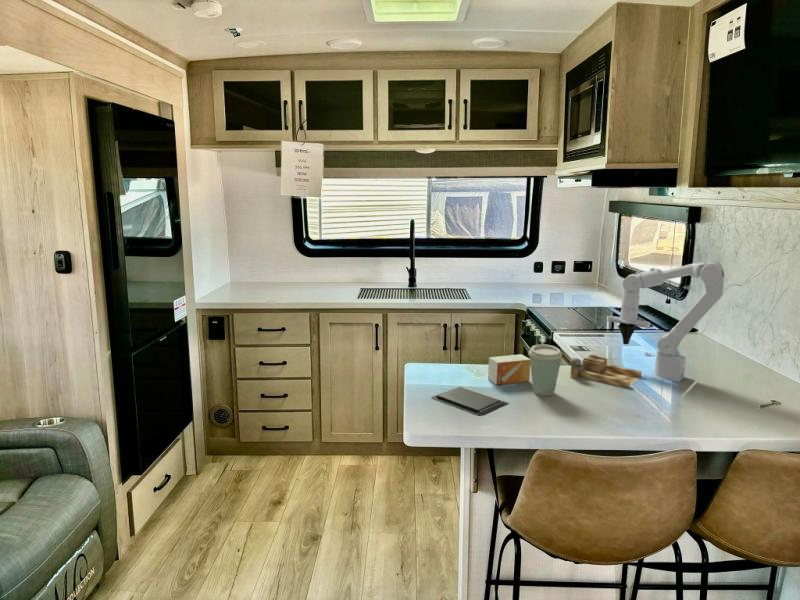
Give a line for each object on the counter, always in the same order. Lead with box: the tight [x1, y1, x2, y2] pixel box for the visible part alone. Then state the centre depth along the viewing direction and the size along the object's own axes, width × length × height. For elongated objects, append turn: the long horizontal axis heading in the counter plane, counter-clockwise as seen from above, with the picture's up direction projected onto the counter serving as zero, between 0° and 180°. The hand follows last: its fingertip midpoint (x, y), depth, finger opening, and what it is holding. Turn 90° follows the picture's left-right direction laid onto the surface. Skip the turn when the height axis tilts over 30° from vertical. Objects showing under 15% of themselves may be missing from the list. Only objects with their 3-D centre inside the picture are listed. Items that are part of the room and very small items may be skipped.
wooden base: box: [569, 354, 642, 389], centre depth 201 cm, size 19×19×7 cm
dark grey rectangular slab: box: [431, 386, 510, 417], centre depth 179 cm, size 20×2×15 cm
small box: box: [487, 353, 531, 386], centre depth 197 cm, size 8×6×13 cm
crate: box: [581, 354, 608, 374], centre depth 205 cm, size 6×8×5 cm
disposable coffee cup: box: [528, 343, 563, 397], centre depth 186 cm, size 11×11×15 cm
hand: (626, 343), depth 210 cm, fingers closed
